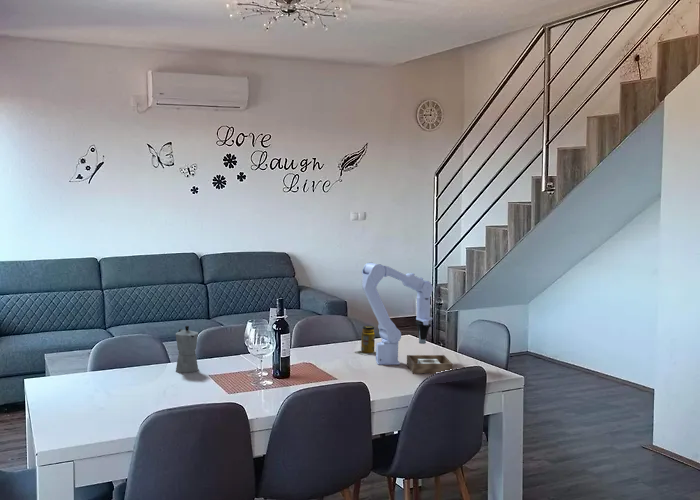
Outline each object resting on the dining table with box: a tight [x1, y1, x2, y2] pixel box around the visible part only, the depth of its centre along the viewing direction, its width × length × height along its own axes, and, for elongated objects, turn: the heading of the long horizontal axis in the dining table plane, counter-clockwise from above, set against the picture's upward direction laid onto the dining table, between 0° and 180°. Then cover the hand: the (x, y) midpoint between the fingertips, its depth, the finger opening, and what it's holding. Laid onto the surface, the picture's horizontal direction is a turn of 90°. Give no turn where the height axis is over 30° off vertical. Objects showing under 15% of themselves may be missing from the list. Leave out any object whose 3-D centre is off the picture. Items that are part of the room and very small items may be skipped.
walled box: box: [406, 354, 454, 375], centre depth 292 cm, size 16×16×4 cm
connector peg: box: [418, 331, 427, 345], centre depth 307 cm, size 3×3×7 cm
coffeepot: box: [175, 325, 199, 374], centre depth 282 cm, size 15×9×18 cm, turn 33°
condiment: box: [354, 325, 376, 356], centre depth 320 cm, size 7×8×12 cm
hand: (422, 338), depth 307 cm, fingers closed on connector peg, 3 cm apart
